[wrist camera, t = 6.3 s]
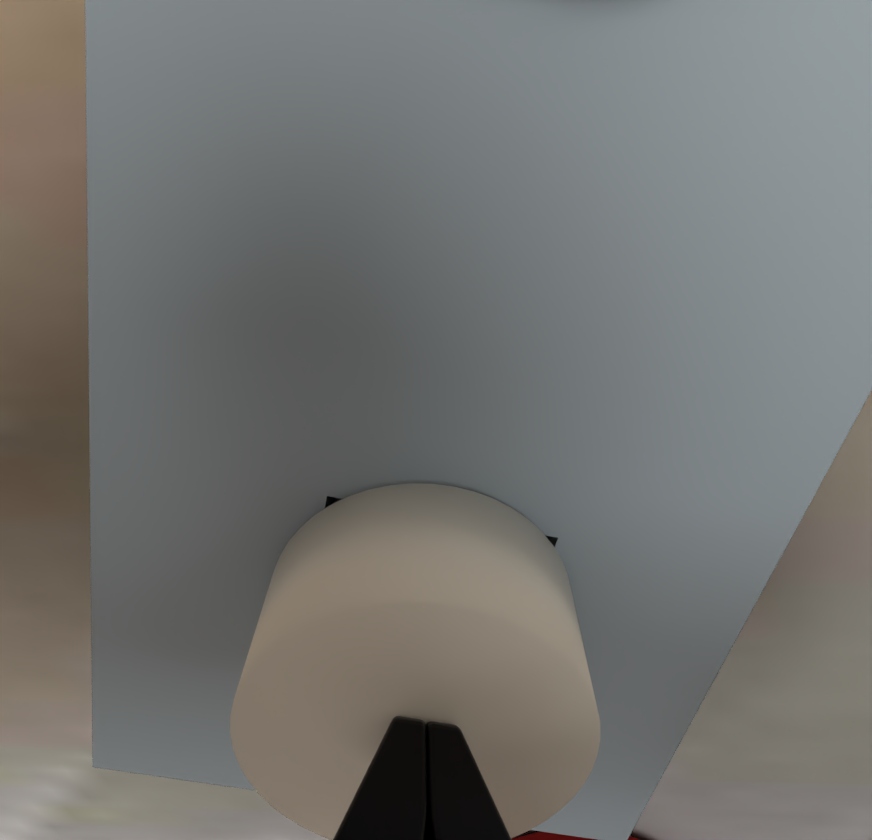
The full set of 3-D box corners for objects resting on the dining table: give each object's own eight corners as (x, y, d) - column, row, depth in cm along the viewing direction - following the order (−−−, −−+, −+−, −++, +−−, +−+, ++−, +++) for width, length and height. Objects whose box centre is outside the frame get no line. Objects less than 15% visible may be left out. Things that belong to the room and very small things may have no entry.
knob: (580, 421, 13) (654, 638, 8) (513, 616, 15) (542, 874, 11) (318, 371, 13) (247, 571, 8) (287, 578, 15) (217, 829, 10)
